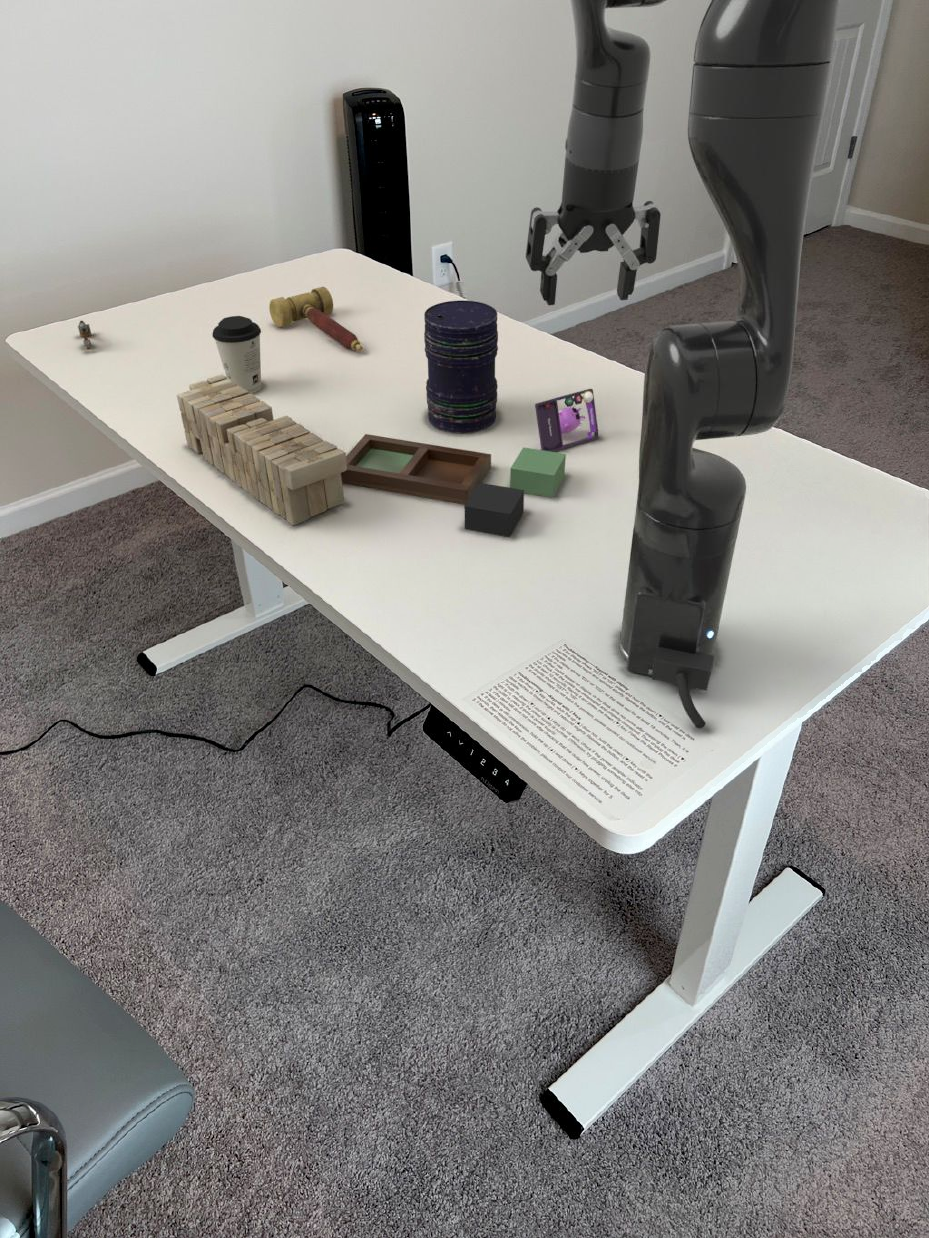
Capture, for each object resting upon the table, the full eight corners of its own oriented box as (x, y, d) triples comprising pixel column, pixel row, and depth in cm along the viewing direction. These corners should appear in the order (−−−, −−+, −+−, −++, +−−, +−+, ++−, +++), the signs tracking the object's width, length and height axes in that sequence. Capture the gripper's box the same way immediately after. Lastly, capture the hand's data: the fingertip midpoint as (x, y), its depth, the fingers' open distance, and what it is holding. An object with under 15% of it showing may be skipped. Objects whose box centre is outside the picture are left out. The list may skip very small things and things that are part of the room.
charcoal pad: (509, 537, 112) (510, 514, 110) (464, 529, 113) (464, 506, 111) (523, 512, 116) (524, 489, 114) (479, 505, 118) (479, 482, 116)
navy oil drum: (484, 397, 141) (484, 296, 131) (507, 427, 133) (509, 322, 124) (418, 407, 138) (414, 305, 129) (438, 438, 131) (435, 332, 122)
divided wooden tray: (467, 505, 118) (467, 490, 116) (336, 482, 122) (335, 467, 121) (491, 468, 124) (491, 454, 123) (366, 447, 129) (365, 433, 128)
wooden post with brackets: (82, 350, 153) (75, 320, 152) (84, 352, 160) (77, 324, 159) (94, 348, 154) (86, 319, 152) (95, 350, 161) (88, 322, 160)
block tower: (183, 448, 131) (297, 532, 113) (170, 390, 126) (286, 468, 108) (234, 430, 135) (352, 508, 117) (223, 373, 130) (344, 446, 112)
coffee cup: (273, 393, 142) (264, 327, 136) (226, 401, 140) (215, 335, 134) (263, 374, 147) (254, 310, 141) (218, 382, 145) (206, 318, 139)
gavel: (387, 327, 153) (332, 343, 148) (387, 354, 156) (334, 370, 151) (319, 282, 165) (267, 295, 160) (321, 308, 168) (270, 321, 163)
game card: (539, 404, 124) (596, 388, 127) (518, 402, 128) (573, 387, 132) (546, 455, 126) (602, 438, 130) (526, 451, 131) (580, 435, 134)
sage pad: (553, 498, 119) (554, 475, 117) (509, 490, 120) (510, 468, 118) (564, 476, 123) (565, 453, 121) (522, 469, 124) (523, 447, 122)
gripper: (542, 171, 95) (532, 321, 106) (681, 163, 96) (655, 311, 108) (526, 141, 100) (518, 288, 111) (658, 134, 101) (636, 279, 113)
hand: (586, 299), depth 110 cm, fingers open, 8 cm apart
